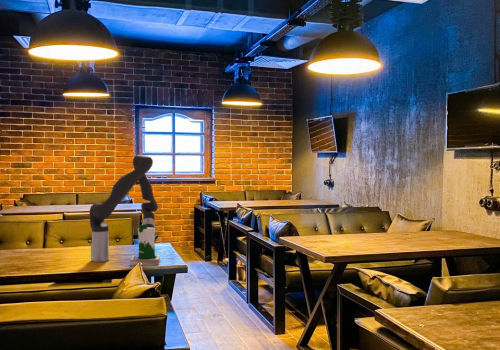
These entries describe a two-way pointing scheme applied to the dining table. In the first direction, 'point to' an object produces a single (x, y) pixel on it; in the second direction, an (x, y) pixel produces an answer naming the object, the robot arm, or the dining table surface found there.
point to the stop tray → (145, 261)
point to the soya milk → (146, 242)
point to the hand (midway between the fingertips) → (147, 249)
